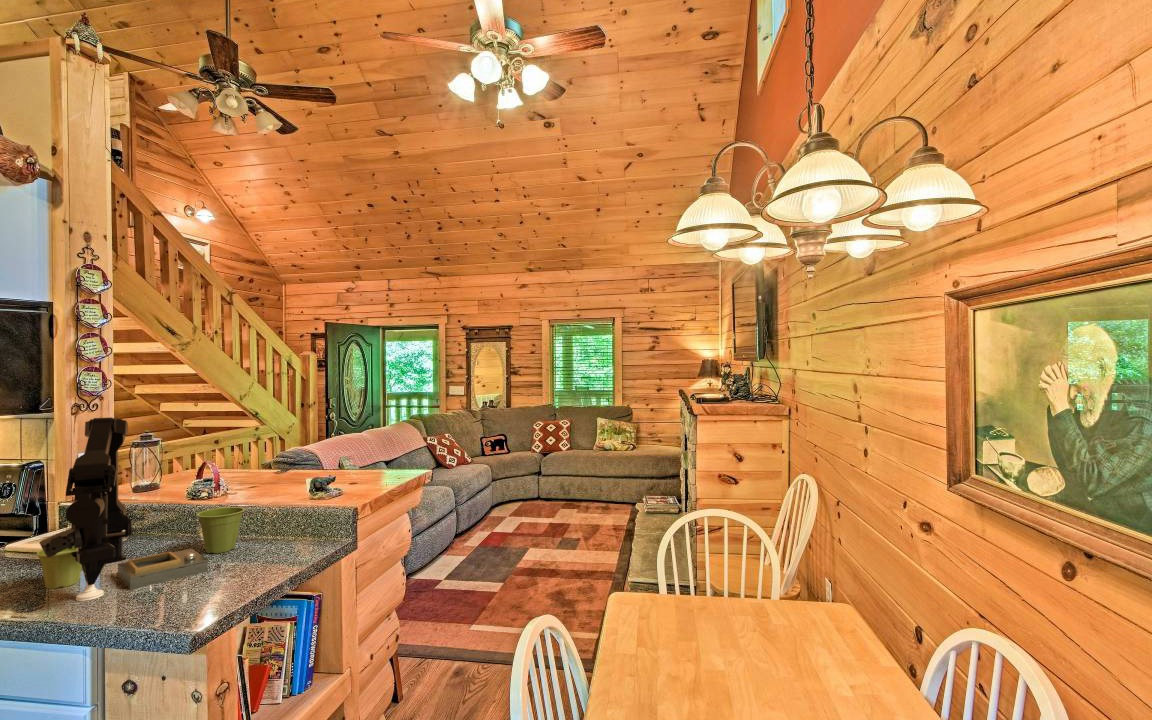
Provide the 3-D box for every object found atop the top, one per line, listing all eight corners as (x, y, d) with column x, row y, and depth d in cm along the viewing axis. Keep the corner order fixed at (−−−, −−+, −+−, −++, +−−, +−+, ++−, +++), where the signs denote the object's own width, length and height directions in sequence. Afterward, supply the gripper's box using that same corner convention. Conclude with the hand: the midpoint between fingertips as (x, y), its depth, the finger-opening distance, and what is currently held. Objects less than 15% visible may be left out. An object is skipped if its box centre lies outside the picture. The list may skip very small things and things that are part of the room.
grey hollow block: (117, 575, 141) (117, 557, 141) (191, 559, 153) (191, 542, 153) (130, 589, 132) (130, 570, 132) (207, 571, 144) (207, 553, 144)
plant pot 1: (98, 577, 139) (99, 543, 140) (60, 592, 130) (60, 555, 130) (65, 576, 140) (65, 542, 140) (24, 591, 131) (25, 554, 131)
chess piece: (80, 602, 124) (80, 558, 124) (72, 598, 127) (72, 554, 127) (107, 595, 128) (108, 552, 129) (99, 590, 131) (99, 548, 131)
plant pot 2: (253, 547, 163) (253, 509, 164) (211, 559, 153) (211, 518, 153) (229, 541, 169) (229, 504, 169) (187, 553, 158) (187, 513, 159)
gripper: (38, 516, 128) (36, 583, 128) (48, 531, 116) (47, 605, 116) (100, 507, 136) (99, 570, 136) (116, 520, 124) (115, 589, 124)
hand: (90, 583), depth 128 cm, fingers closed on chess piece
